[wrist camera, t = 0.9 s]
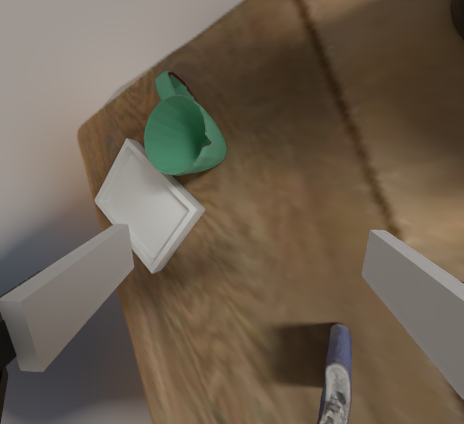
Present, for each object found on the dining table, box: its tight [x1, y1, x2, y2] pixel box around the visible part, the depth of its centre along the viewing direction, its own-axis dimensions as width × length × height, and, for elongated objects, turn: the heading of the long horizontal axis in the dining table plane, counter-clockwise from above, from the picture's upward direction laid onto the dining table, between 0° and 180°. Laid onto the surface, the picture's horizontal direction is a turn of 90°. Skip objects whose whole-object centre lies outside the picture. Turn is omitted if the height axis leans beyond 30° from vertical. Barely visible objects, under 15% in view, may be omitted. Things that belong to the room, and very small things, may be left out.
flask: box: [317, 323, 352, 424], centre depth 27 cm, size 9×3×11 cm, turn 174°
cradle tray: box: [94, 138, 206, 274], centre depth 44 cm, size 15×20×2 cm
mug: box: [144, 71, 227, 176], centre depth 34 cm, size 15×10×10 cm
